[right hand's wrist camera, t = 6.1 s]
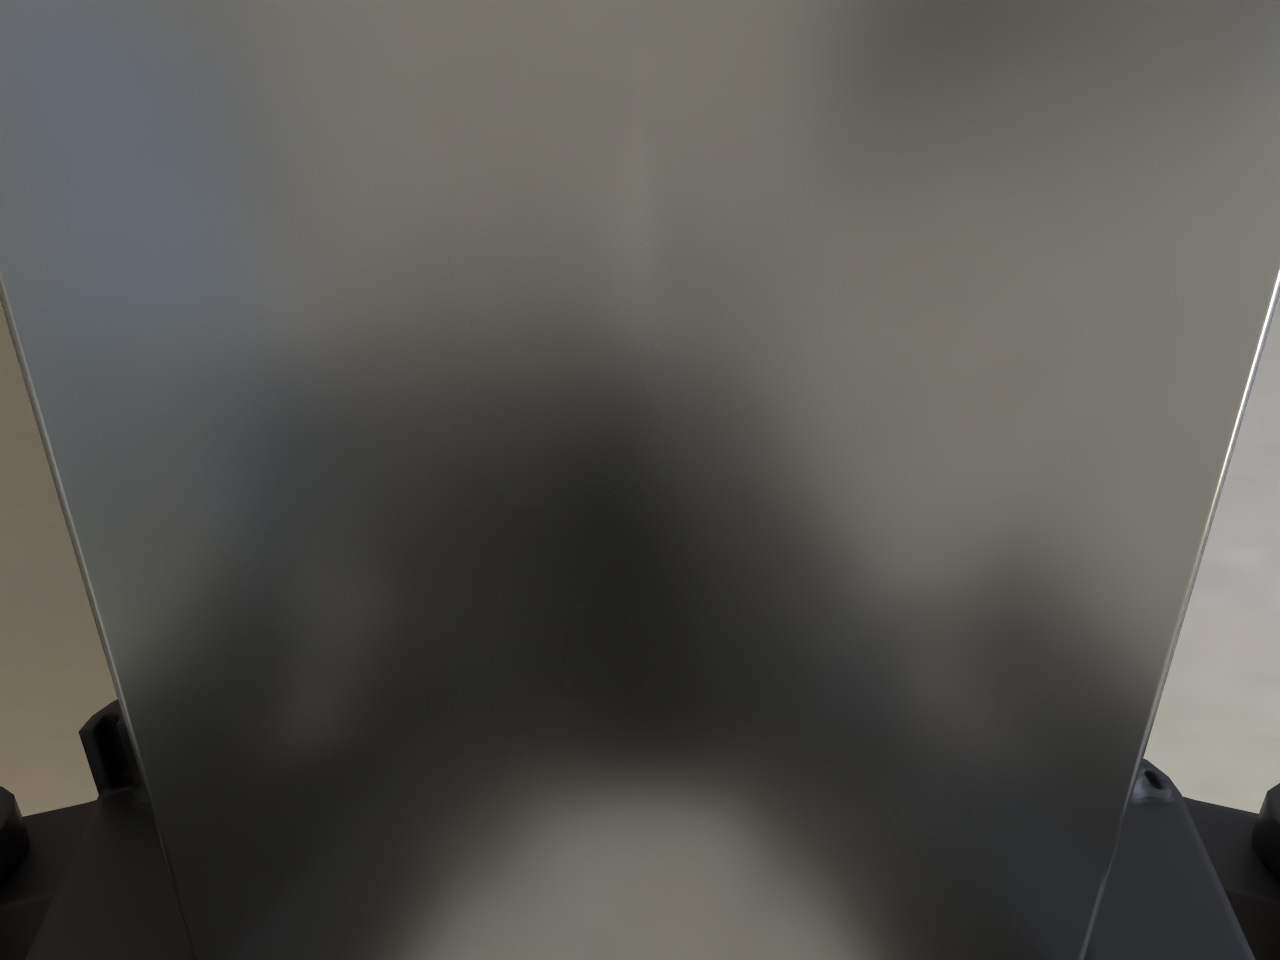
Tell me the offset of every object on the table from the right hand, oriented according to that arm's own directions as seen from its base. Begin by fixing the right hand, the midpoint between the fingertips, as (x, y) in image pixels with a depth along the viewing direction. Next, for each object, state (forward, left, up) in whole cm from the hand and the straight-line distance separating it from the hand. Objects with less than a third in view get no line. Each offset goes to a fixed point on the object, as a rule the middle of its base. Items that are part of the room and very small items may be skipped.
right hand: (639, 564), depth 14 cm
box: (-2, +7, -2) cm, 7 cm away
